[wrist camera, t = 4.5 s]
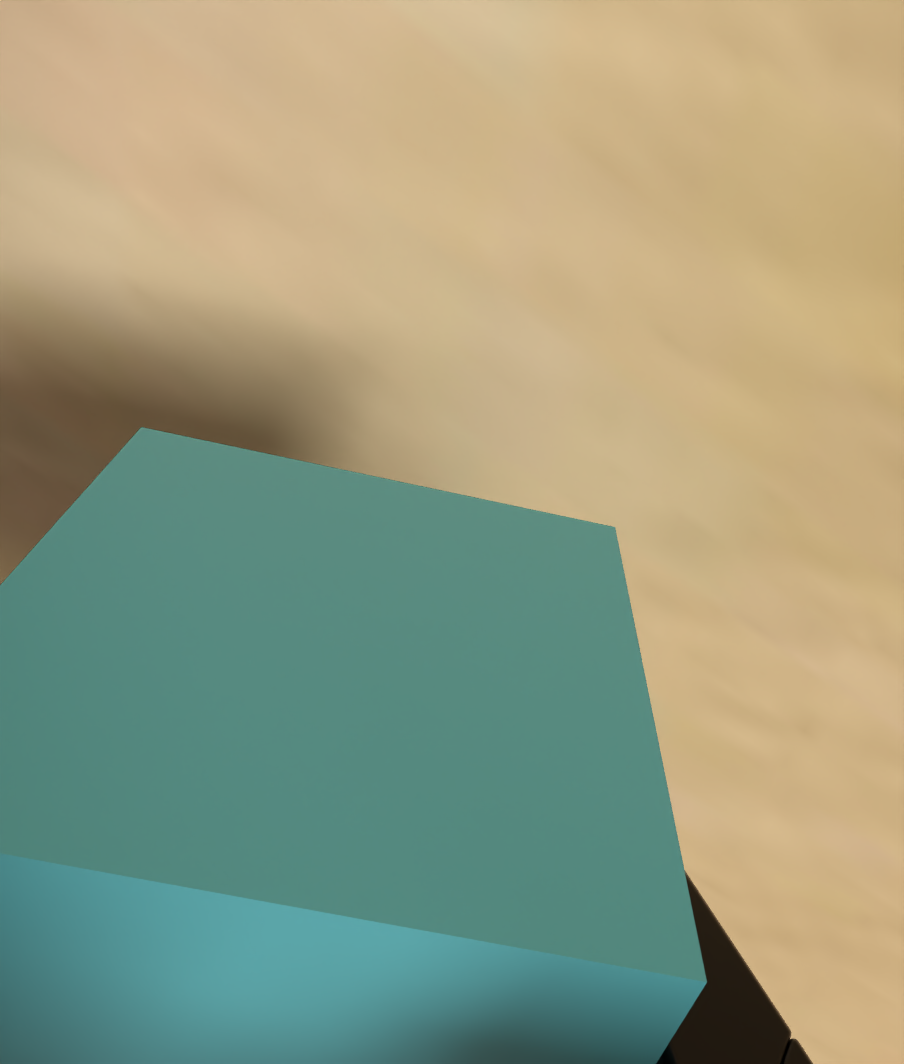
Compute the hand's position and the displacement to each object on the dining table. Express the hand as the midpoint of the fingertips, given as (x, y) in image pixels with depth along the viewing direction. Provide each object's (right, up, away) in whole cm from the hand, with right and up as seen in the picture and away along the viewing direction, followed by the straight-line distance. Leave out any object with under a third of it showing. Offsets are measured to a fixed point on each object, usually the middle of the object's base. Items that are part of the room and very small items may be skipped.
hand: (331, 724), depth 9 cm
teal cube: (0, +1, +1) cm, 1 cm away
